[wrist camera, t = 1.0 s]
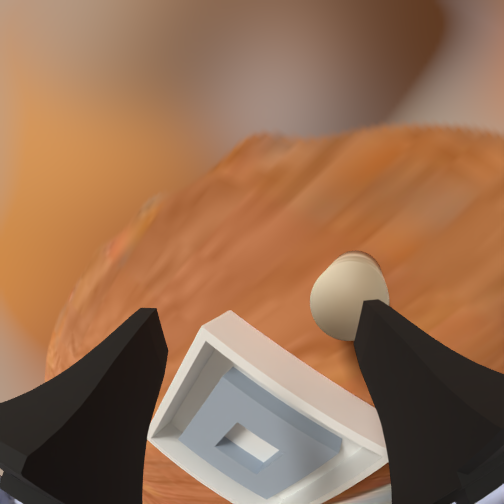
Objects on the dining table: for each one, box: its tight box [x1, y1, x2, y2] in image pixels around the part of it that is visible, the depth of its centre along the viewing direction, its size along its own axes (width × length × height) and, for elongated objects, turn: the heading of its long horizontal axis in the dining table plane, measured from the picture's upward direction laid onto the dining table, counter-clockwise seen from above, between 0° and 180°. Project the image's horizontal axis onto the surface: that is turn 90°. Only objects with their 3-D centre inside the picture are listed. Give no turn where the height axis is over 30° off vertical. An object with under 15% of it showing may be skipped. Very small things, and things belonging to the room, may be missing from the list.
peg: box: [310, 251, 389, 341], centre depth 16 cm, size 4×4×7 cm
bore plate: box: [178, 367, 342, 499], centre depth 22 cm, size 12×12×2 cm
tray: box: [147, 310, 389, 504], centre depth 22 cm, size 18×18×4 cm
